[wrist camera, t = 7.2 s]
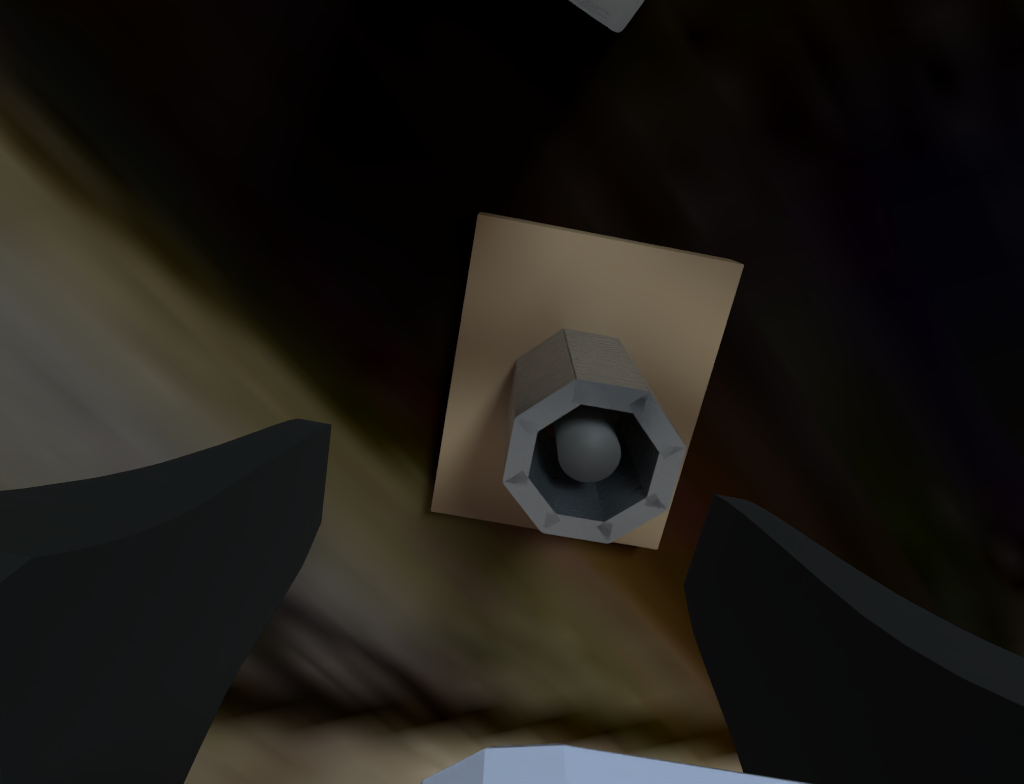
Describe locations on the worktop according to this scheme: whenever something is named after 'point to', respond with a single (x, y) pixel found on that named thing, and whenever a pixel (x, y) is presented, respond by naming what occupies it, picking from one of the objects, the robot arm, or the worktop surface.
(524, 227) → the shaft block
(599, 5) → the supplement box
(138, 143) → the worktop surface
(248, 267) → the worktop surface
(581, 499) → the tube
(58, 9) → the worktop surface
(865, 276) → the worktop surface
